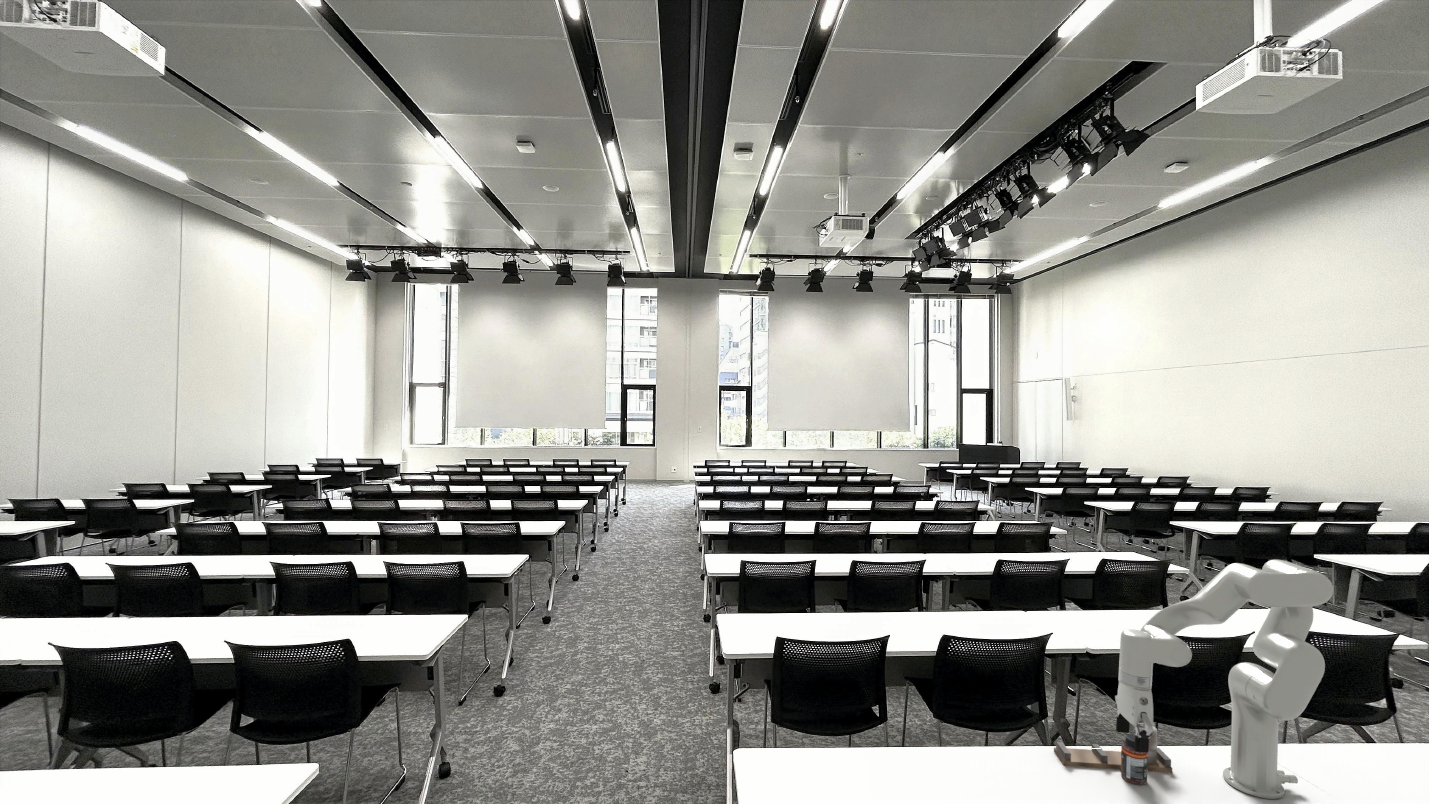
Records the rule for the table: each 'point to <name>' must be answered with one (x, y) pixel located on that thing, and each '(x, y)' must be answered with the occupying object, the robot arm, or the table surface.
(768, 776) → the table surface
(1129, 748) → the supplement bottle
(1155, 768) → the rail
